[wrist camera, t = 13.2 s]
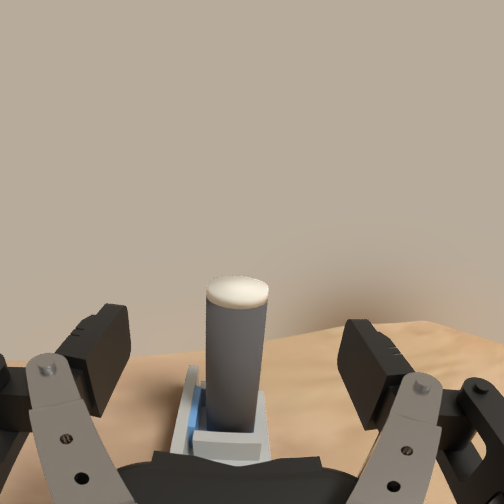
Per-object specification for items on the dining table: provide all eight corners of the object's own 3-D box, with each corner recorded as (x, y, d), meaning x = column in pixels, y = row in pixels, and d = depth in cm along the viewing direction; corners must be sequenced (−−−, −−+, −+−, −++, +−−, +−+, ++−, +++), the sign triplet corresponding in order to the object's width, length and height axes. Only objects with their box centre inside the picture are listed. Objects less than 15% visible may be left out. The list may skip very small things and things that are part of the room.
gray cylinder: (204, 442, 24) (203, 295, 20) (208, 410, 28) (209, 274, 25) (254, 444, 24) (271, 299, 21) (253, 412, 29) (266, 277, 25)
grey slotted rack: (155, 621, 7) (141, 615, 6) (190, 393, 32) (188, 365, 31) (287, 627, 8) (299, 622, 7) (262, 397, 33) (265, 369, 32)
